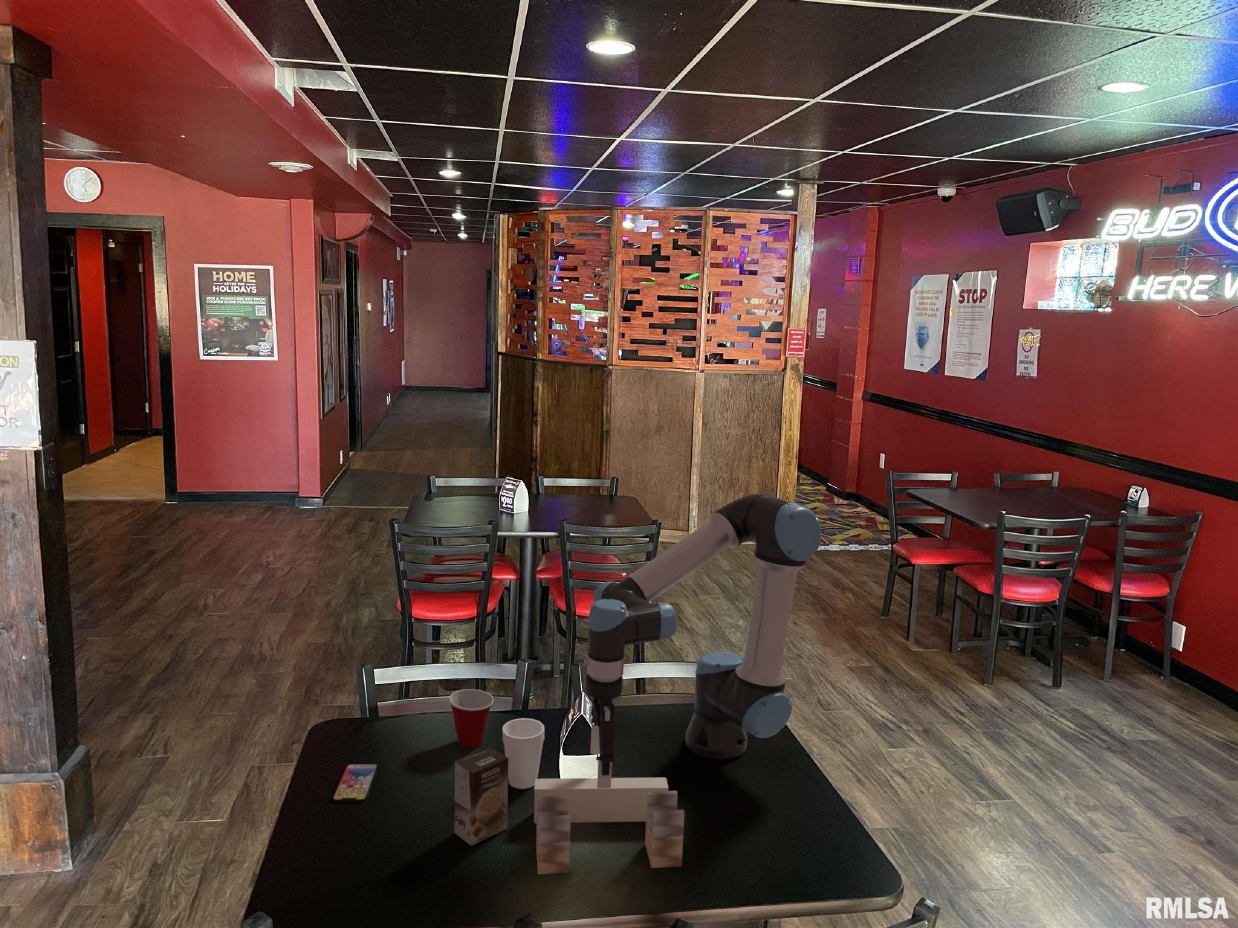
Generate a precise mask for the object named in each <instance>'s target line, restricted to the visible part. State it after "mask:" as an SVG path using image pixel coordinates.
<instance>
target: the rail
mask: <svg viewBox="0 0 1238 928" xmlns="http://www.w3.org/2000/svg"><path fill="white" fill-rule="evenodd" d="M597 780H598V777H593V778H592V777H591V778H589V777H587V778H586V777H585V778H576V777H575V778H573V777H572V778H567V777H566V778H537V779H535V785H534V796H533V797H534V803H533V806H534V807H533V810H534V811H533V812H534V813H533V823H534V824H537V797H548V796H568V815H570V818H571V820H570V824H571V823H620V822H621V823H624V822H625V823H627V822H628V823H630V822H631V823H633V822H636V823H638V822H641V823H642V822H646V812H647V792H659V791H669V785H668V779H667V777H611V788H597Z"/></svg>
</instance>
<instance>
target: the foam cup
mask: <svg viewBox="0 0 1238 928" xmlns="http://www.w3.org/2000/svg"><path fill="white" fill-rule="evenodd" d="M544 741H545V724H543V723H542V722H541V721H540V720H537V719H534V718H525V717H521V718H516V719H511V720H509V721H507V722H506V723H504V725H503V726H502V742H503V747H504V748H503V749H504V756H506V757H507V758H509V759H508V785H510V786H511V787H513V788H515V789H521V790H524V789H530V788H532V787H535V779H538V777H539V772H540V771H539V769H540V763H541V758H542V751H543V744H544Z"/></svg>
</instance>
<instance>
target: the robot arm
mask: <svg viewBox="0 0 1238 928" xmlns="http://www.w3.org/2000/svg"><path fill="white" fill-rule="evenodd" d="M822 535H823V532H822V525H821V522H820V520H819V518H818V517H817V516H816V513H814V511H812V510H811V509H809V508H807V507H804V506H803V505H802V504H799V503H796V502H792V501H789V500H785V499H782V498H779V497H776V496H773V495H771V494H767V493H753V494H748V495H745V496H742V497H740V498H738V499H735V500H733V501H730V502H729V503H727V504H725V505H723V506H722V507H721V508H719V509H717V510H715V511H714V512H713V513H711V514H710V516H709V520H708V521H707V522H706V523H704V524H703V525H701V526H700V527H698V528H697V529H695V530H694V531H693V532H691V533H690V534H687V536H685V537H684V538H682V539H681V540H679V541H678V542H676V543H675V544H673V545H672V546H671V547H669V548H668V549H666V550H664V551H663V552H661V553H660V554H659V555H657V556H656V557H654V558H653V559H651V560H650V561H649V562H647V563H646V564H645V563H644V565H642V566H641V567H639V568H638V569H637V570H635V571H634V572H632V573H631V574H629V575H628V576H626V577H625V578H623V579H621V580H620V581H619V582H615V581H612V580H611V581H604V582H602V583H601V584H600V585H598V586H597V587H596V589H595V590H594V592H593V593H594V594H593V599H592V601H593V602H592V603H591V606H590V608H589V612H588V613H589V614H588V621H587V626H588V627H587V628H588V629H587V630H588V633H587V659H584V661H583V663H584V664H585V665H586V674H587V675H586V678H585V679H586V681H585V692H586V694H587V695H588V696H589V697H591V698H592V704H591V710H590V711H591V712H590V716H591V717H592V718H591V720H590V721H591V731H590V732H591V735H590V755H598V756H596V758H595V760H596V761H597V762H598V764H597V778H598V780H597V788H611V778H612V774H613V773H612V772H613V762H615V757H614V756H615V754H614V753H615V747H614V745H615V744H614V742H615V740H614V739H615V738H614V737H615V736H614V717H615V712H614V711H615V704H614V703H613V700H614V699H617V698H619V697H620V696H621V695H622V693H623V683H624V682H623V681H624V677H623V675H624V665H625V648H626V646H631V645H636V644H641V643H643V644H644V643H649V642H655V641H661V640H663V639H664V640H665V639H667V638H670V637H672V636H673V635H675V633H676V631H677V629H678V616H677V613H676V611H675V608H674V607H673V605H672V604H670V603H669V602H665V601H664V602H654V603H651V602H652V601H654V600H655V599H656V598H658V597H659V596H661V595H662V594H663V593H665V592H666V591H668V590H669V589H671V588H672V587H674V586H676V585H677V584H678V583H680V582H681V581H682V580H684V579H685V578H686V577H688V576H689V575H691V574H692V573H694V572H695V571H697V570H698V569H699V568H701V567H702V566H704V565H706V563H708V562H709V561H711V560H712V559H714V558H715V557H717V556H718V555H720V554H721V553H722V552H724V551H726V550H727V549H736V548H738V547H739V546H740V545H742V544H745V543H754V544H755V549H754V553H753V554H754V559H755V560H756V561H757V563H758V564H759V566H758V571H757V578H756V582H755V583H756V584H755V591H754V597H753V603H752V609H751V614H750V615H751V616H750V622H749V627H748V634H747V639H746V645H745V652H744V657H743V656H742V655H740V654H737V653H733V652H725V651H724V652H720V651H719V652H711V653H707V654H706V653H705V654H704V655H702V656H700V657H699V659H698V660H697V663H696V670H695V687H694V688H695V692H694V709H693V713H692V714H693V715H692V717H691V718H690V722H689V724H688V727H687V729H686V732H685V745H686V747H687V748H688V749H689V750H690V751H691V752H693V753H694V754H695V755H697V756H700V757H703V758H706V759H711V760H731V759H734V758H738V757H739V756H742V755H744V753H745V752H746V750H747V748H748V735H747V733H749V734H751V735H753V736H754V737H756V738H762V739H765V738H766V739H767V738H770V737H773V736H774V735H776V734H778V733H779V732H780V730H782V729H783V728H784V727H785V726H786V724H787V723H788V721H789V719H790V718H791V715H792V710H793V704H792V701H791V700H790V697H789V695H787V694H786V693H785V688H786V679H787V678H786V677H785V675H784V674H783V673H782V671H781V670H782V664H783V658H784V652H785V646H786V640H787V634H788V629H789V623H790V618H791V617H790V616H791V612H792V606H793V601H794V593H795V587H796V583H797V575H798V572H799V571H800V570H802V569H803V568H805V567H806V564H807V560H809V559H811V558H812V557H813V556H814V555H815V552H817V551H818V550H819V548H820V546H821V542H822V537H823V536H822Z"/></svg>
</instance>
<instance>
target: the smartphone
mask: <svg viewBox="0 0 1238 928" xmlns="http://www.w3.org/2000/svg"><path fill="white" fill-rule="evenodd" d="M378 769H379V765H378V764H377V763H349V764H347V765H345V767H344V770H343V772H342V774H341V777H340V779H339V781H338V784H337V785H336V788H335V790H334V792H333V795H332V797H331V801H332V802H333V803H335V804H338V803H339V804H340V803H343V804H345V803H346V804H347V803H351V804H353V803H364V802H367V799H368V798H369V794H370V792H371V788H372V785H373V784H374V780H375V778H376V775H377V772H378Z"/></svg>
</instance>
